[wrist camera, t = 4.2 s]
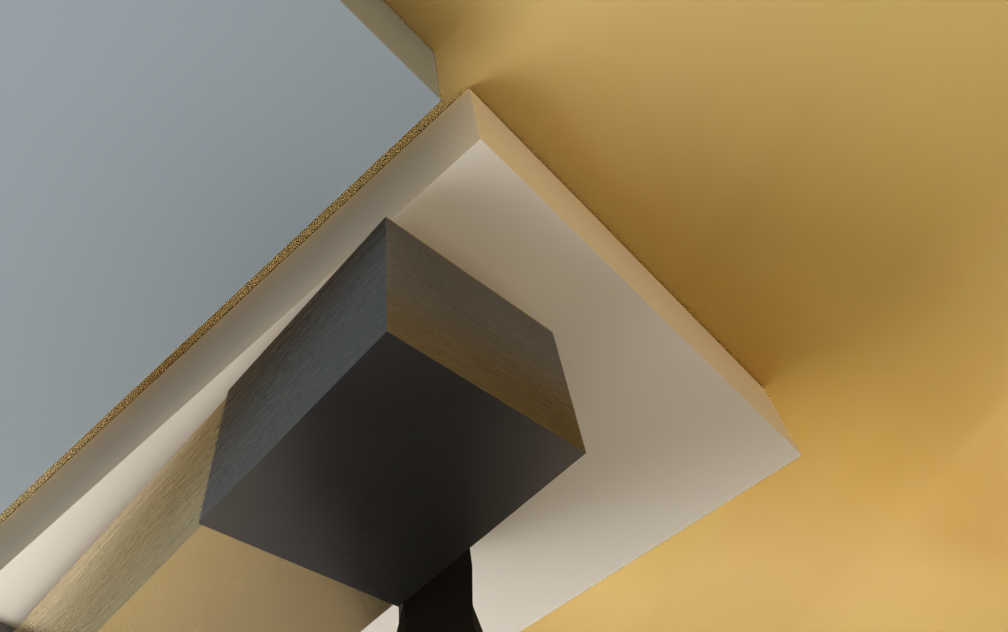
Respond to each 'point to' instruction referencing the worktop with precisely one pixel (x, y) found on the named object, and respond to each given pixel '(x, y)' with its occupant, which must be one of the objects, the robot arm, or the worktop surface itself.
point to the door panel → (167, 179)
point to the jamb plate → (532, 288)
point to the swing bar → (339, 461)
